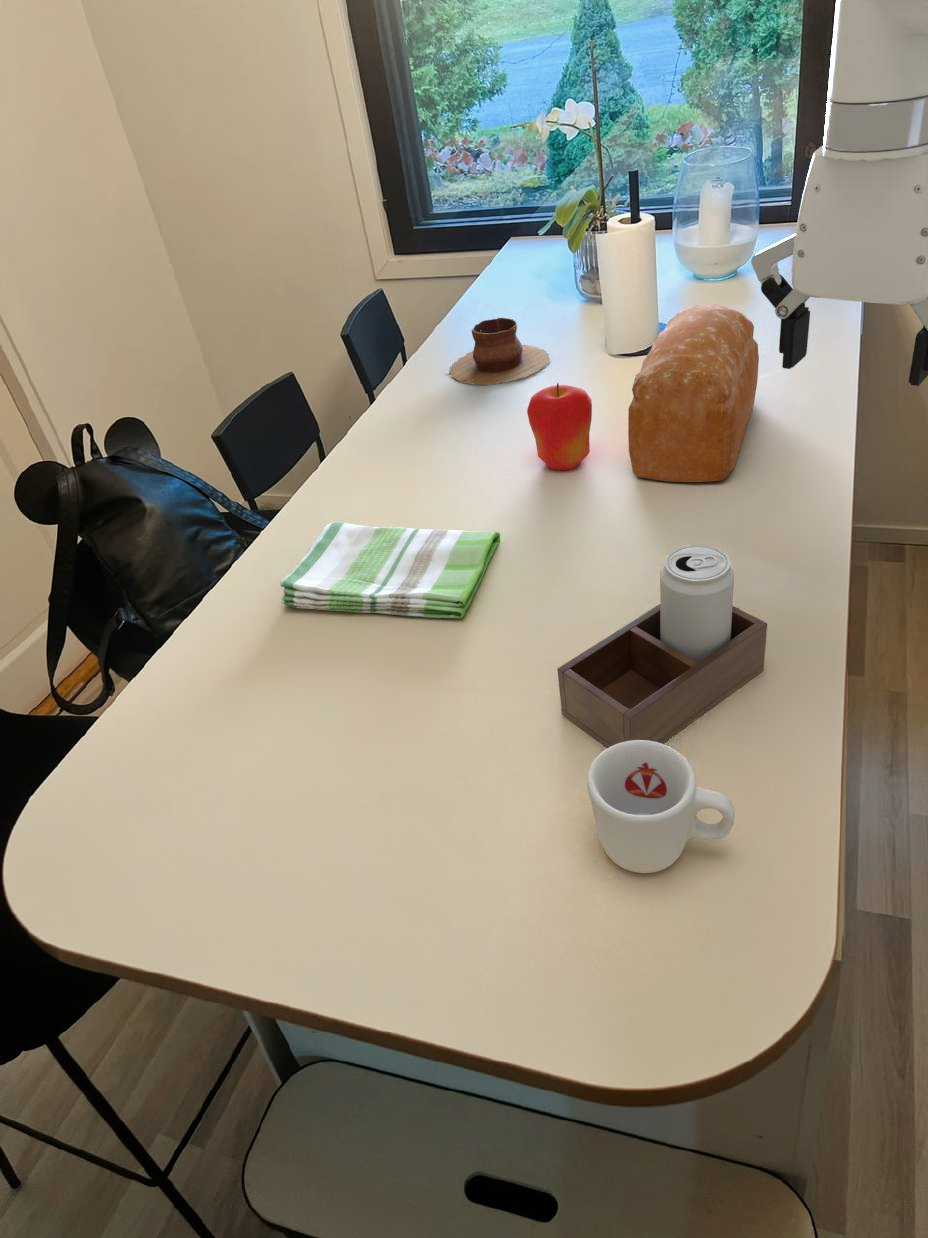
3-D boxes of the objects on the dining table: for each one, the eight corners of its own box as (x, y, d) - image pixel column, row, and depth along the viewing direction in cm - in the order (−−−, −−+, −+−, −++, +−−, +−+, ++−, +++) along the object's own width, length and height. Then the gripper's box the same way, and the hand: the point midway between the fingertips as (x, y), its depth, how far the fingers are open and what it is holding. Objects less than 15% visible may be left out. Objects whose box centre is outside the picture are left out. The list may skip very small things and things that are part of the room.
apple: (603, 450, 123) (599, 370, 116) (581, 479, 117) (576, 397, 110) (547, 445, 127) (540, 367, 120) (523, 473, 121) (514, 392, 114)
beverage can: (656, 645, 87) (655, 544, 80) (722, 640, 86) (727, 537, 79) (665, 688, 82) (665, 585, 75) (735, 683, 81) (741, 578, 74)
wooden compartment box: (763, 670, 83) (767, 623, 80) (631, 766, 76) (630, 719, 73) (689, 629, 90) (690, 583, 86) (561, 714, 83) (556, 668, 79)
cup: (733, 816, 70) (738, 747, 66) (729, 900, 65) (734, 831, 60) (600, 800, 74) (595, 733, 69) (584, 879, 68) (578, 812, 63)
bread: (759, 399, 129) (766, 291, 119) (731, 487, 110) (737, 368, 101) (665, 396, 134) (665, 293, 124) (624, 480, 115) (619, 366, 106)
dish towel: (334, 533, 115) (328, 510, 113) (502, 538, 109) (499, 513, 106) (279, 612, 103) (271, 588, 101) (466, 623, 96) (461, 597, 94)
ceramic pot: (439, 359, 160) (433, 321, 155) (530, 337, 162) (527, 299, 158) (464, 394, 145) (458, 353, 141) (564, 369, 148) (561, 328, 143)
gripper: (1048, 106, 55) (991, 366, 65) (783, 117, 65) (769, 341, 75) (1015, 133, 51) (959, 406, 61) (737, 140, 61) (729, 374, 71)
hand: (854, 370), depth 68 cm, fingers open, 9 cm apart
